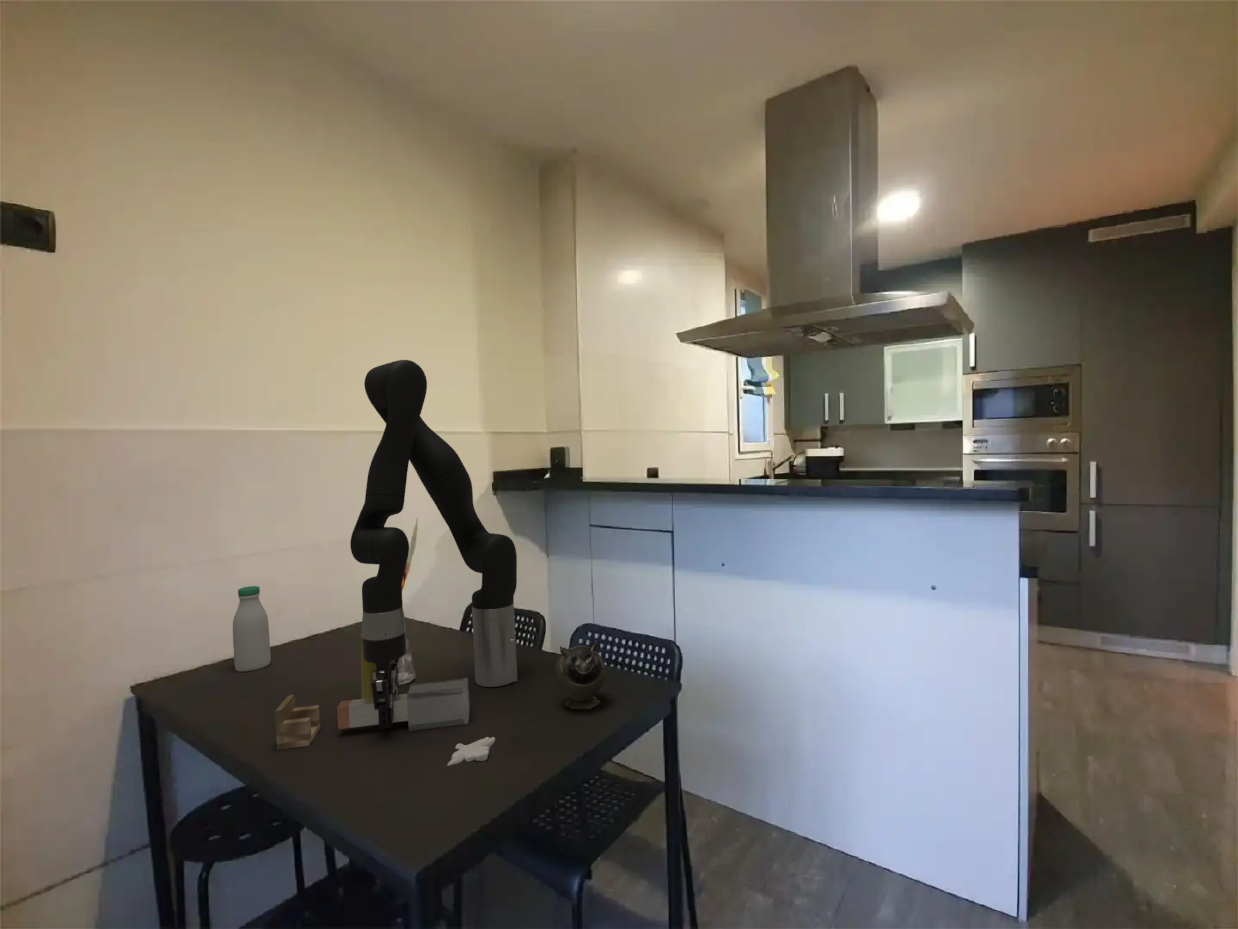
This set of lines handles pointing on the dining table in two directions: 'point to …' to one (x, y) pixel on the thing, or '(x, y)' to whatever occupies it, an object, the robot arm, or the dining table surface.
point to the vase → (366, 675)
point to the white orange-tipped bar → (369, 712)
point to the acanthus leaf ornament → (472, 751)
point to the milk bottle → (250, 632)
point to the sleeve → (438, 704)
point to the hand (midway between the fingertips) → (388, 720)
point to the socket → (295, 724)
